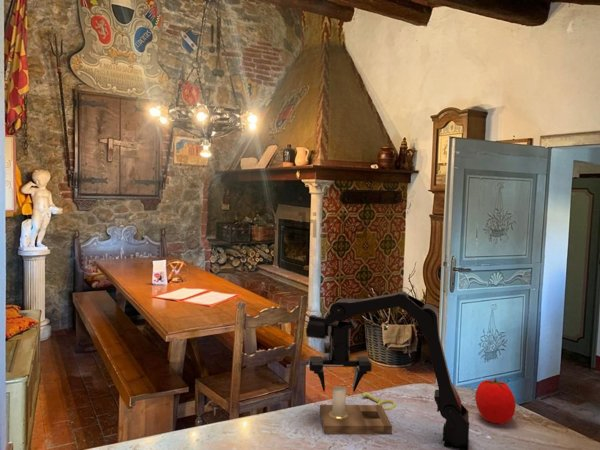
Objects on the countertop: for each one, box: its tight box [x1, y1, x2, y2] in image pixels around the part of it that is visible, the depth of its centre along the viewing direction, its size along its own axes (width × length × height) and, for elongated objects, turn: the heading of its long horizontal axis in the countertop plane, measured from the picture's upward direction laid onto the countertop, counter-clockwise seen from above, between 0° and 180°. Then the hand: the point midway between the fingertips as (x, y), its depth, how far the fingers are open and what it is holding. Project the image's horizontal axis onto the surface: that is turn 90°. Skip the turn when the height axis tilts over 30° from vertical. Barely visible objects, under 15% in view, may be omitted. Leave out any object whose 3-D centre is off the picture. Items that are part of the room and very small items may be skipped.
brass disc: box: [329, 411, 348, 419], centre depth 145 cm, size 6×6×1 cm
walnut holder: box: [319, 404, 393, 435], centre depth 146 cm, size 20×14×2 cm
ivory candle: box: [331, 385, 347, 417], centre depth 145 cm, size 4×4×8 cm
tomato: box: [474, 377, 517, 425], centre depth 149 cm, size 12×12×13 cm
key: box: [360, 391, 397, 411], centre depth 160 cm, size 7×12×2 cm, turn 59°
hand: (338, 391), depth 145 cm, fingers open, 9 cm apart
